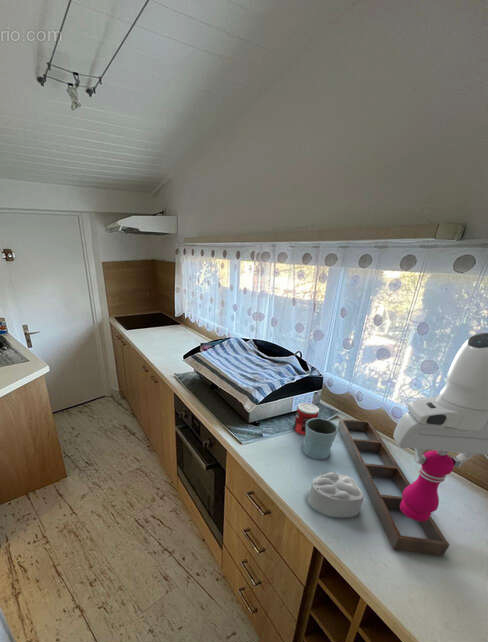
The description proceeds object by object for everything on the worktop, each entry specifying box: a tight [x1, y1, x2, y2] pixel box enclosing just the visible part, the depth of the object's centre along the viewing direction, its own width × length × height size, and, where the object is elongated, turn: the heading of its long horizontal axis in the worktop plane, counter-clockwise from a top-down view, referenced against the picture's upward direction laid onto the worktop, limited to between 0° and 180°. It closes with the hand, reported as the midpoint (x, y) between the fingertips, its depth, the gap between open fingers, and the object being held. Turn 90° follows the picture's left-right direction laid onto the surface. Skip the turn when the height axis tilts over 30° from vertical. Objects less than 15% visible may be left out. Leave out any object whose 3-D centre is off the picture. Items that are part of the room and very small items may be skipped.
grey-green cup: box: [302, 417, 339, 460], centre depth 107 cm, size 10×10×12 cm
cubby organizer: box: [337, 418, 450, 557], centre depth 97 cm, size 11×55×5 cm, turn 170°
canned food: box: [293, 402, 320, 436], centre depth 119 cm, size 8×8×11 cm
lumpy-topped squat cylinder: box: [307, 471, 365, 518], centre depth 87 cm, size 10×13×9 cm
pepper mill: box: [400, 450, 455, 522], centre depth 73 cm, size 7×7×20 cm
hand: (436, 463), depth 70 cm, fingers closed on pepper mill, 6 cm apart
